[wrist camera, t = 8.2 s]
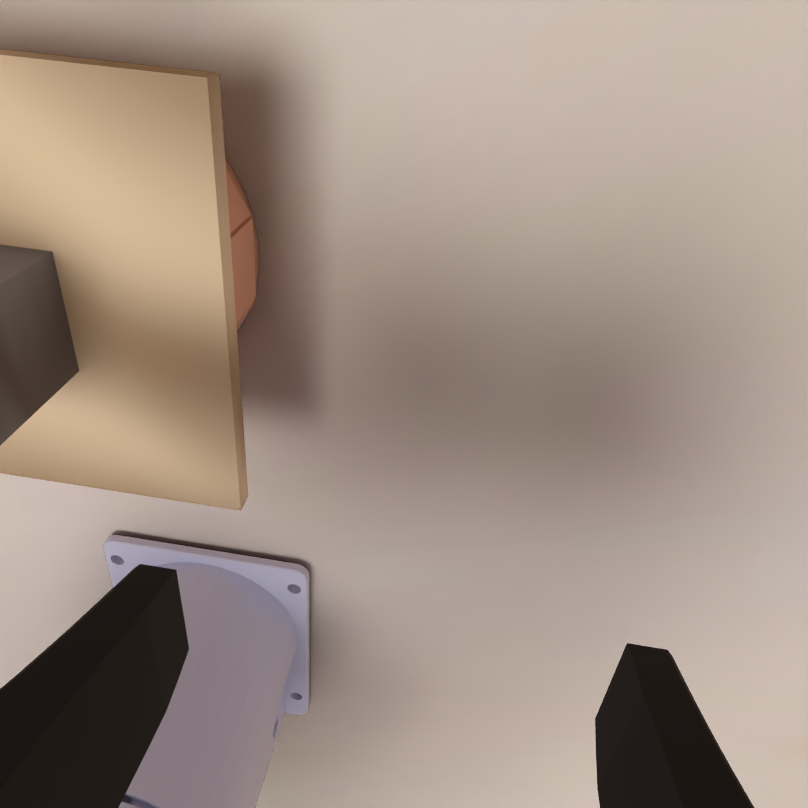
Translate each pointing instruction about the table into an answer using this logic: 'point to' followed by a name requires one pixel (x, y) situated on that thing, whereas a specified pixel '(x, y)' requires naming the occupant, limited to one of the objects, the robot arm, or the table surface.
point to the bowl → (242, 247)
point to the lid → (117, 281)
